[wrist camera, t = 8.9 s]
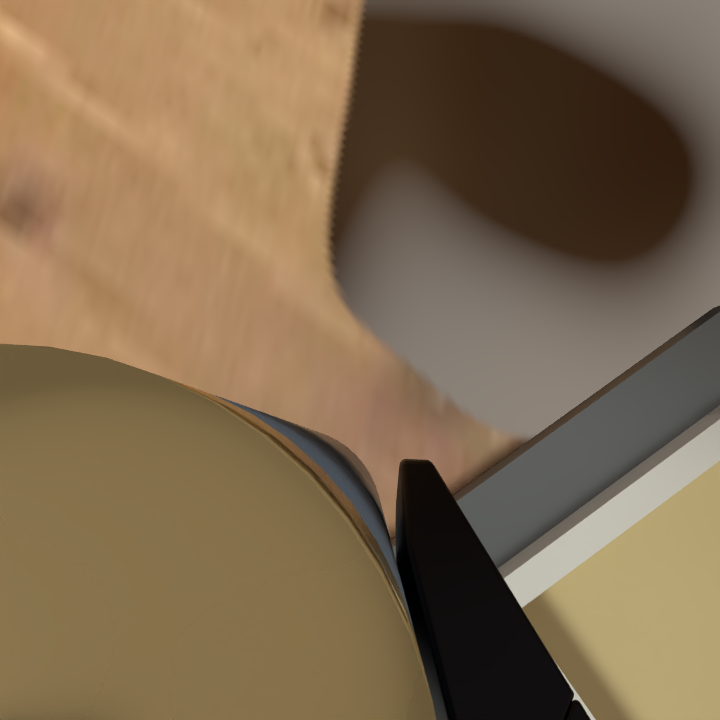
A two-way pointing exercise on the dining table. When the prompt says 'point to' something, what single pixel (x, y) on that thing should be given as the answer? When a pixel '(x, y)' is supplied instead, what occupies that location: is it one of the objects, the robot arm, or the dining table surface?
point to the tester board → (621, 535)
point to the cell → (188, 557)
